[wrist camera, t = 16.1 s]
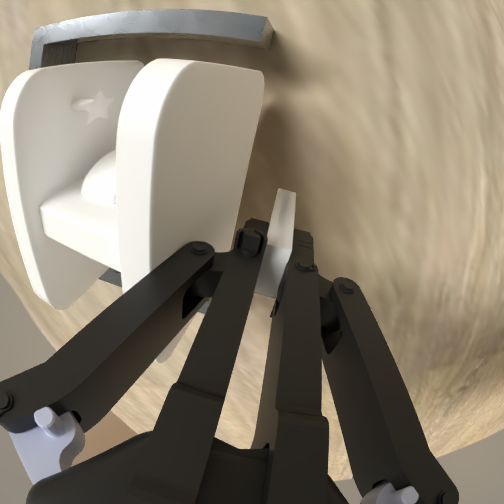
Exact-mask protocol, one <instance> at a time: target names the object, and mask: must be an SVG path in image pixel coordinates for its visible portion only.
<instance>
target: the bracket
mask: <svg viewBox="0 0 504 504" xmlns="http://www.w3.org/2000/svg"><path fill="white" fill-rule="evenodd" d="M273 31H274V29H273V27H272V25H271V23H270V22H269V20H268V18H267V17H263V16H257V15H250V14H242V13H234V12H224V11H212V10H194V9H155V10H137V11H125V12H116V13H108V14H101V15H94V16H88V17H83V18H77V19H72V20H68V21H63V22H59V23H55V24H51V25H47V26H44V27H40V28H37V29H34V35H33V41H32V48H31V56H30V66H29V70H33V69H38V68H44V67H50V66H58V65H65V64H74V63H75V56H76V49H77V43H79V42H87V41H96V40H107V39H122V38H179V39H195V40H206V41H216V42H224V43H232V44H239V45H245V46H251V47H257V48H262V49H268V50H269V47H270V43H271V39H272V35H273ZM98 279H100V280H103V281H106V282H109V283H111V284H114V285H117V286H120V287H122V279H121V272H119V271H117V270H115V269H113V268H109V269H108V270H107V271H106V272H105V273H104V274H102V275H101V276H100V277H99V278H98ZM211 299H212V298H208V299H207V301H206V303H205V304H204V305H203V306H202V307H201V308H200V309H199V310H198V312H200V313H204V314H206V311H207V309H208V307H209V304H210V302H211Z"/></svg>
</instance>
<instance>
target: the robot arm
mask: <svg viewBox="0 0 504 504" xmlns="http://www.w3.org/2000/svg"><path fill="white" fill-rule="evenodd" d="M295 204H296V193H295V192H291V191H287V190H284V189H280V188H278V192H277V195H276V199H275V203H274V207H273V211H272V214H271V218H270V222H269V223H268V222H265V221H261V220H257V219H253V218H251V219H249V220H248V221H246V223H245V226H244V228H242V229H239V230H238V231H237V234H236V239H235V244H234V248H233V250H232V251H229V252H215V249H214V248H213V246H212V245H210V244H209V243H206V242H203V241H192V242H189V243H187V244H185V245H184V246H183V247H182V248H180V249H179V250H178V251H176V252H175V253H174V254H173V255H171V256H170V257H169V258H167V259H166V260H165V261H164V262H162V263H161V264H160V265H159V266H157V267H156V268H155V269H154V270H152V271H151V272H150V273H149V274H147V275H146V276H145V277H144V278H142V279H141V280H140V281H139V282H138V283H136V284H135V285H134V286H133V287H131V288H130V289H129V290H128V291H127V292H125V293H124V294H123V295H122V296H121V297H119V298H118V299H117V300H116V301H115V302H113V303H112V304H111V305H110V306H109V307H107V308H106V309H105V310H104V311H103V312H102V313H100V314H99V315H98V316H97V317H96V318H94V319H93V320H92V321H91V322H90V323H89V324H88V325H86V326H85V327H84V328H83V329H82V330H81V331H80V332H78V333H77V334H76V335H75V336H74V337H73V338H72V339H70V340H69V341H68V342H67V343H66V344H65V345H64V346H63V347H61V348H60V349H59V350H58V351H57V352H56V353H55V354H54V355H53V356H52V357H51V358H49V359H48V360H47V361H46V362H45V363H42V364H40V365H38V366H36V367H33V368H31V369H29V370H26V371H24V372H22V373H20V374H17V375H15V376H13V377H11V378H9V379H6V380H4V381H1V382H0V425H1V426H3V427H4V428H5V429H6V430H7V431H8V432H9V434H10V436H11V438H12V441H13V443H14V446H15V448H16V450H17V453H18V455H19V457H20V459H21V461H22V464H23V466H24V468H25V470H26V471H27V474H28V475H29V477H30V479H31V481H32V483H33V487H32V488H31V490H30V491H29V493H28V496H27V500H26V504H349V503H348V502H347V500H346V499H345V497H344V496H343V495H342V493H341V492H340V490H339V489H338V487H337V486H336V485H335V483H334V482H333V480H332V479H331V477H330V476H329V475H328V453H329V422H328V420H327V418H326V417H324V416H322V412H321V400H322V361H323V364H324V368H325V371H326V375H327V378H328V382H329V386H330V389H331V393H332V396H333V400H334V404H335V408H336V411H337V415H338V419H339V423H340V426H341V430H342V434H343V438H344V442H345V446H346V450H347V454H348V458H349V462H350V466H351V470H352V474H353V477H354V480H355V483H356V485H357V488H358V490H359V492H360V494H361V496H362V497H363V499H362V500H361V503H360V504H458V501H459V492H458V490H457V488H456V486H455V485H454V483H453V482H452V481H451V479H450V478H449V477H448V475H447V474H446V472H445V471H444V469H443V468H442V467H441V465H440V464H439V463H438V461H437V460H436V458H435V457H434V456H433V454H432V453H431V451H430V450H429V447H428V444H427V441H426V438H425V435H424V433H423V430H422V427H421V424H420V422H419V419H418V416H417V414H416V411H415V409H414V406H413V403H412V401H411V398H410V396H409V393H408V391H407V389H406V386H405V384H404V381H403V379H402V377H401V374H400V372H399V370H398V367H397V365H396V363H395V360H394V358H393V356H392V354H391V351H390V349H389V347H388V345H387V343H386V340H385V338H384V336H383V334H382V332H381V330H380V328H379V325H378V323H377V321H376V319H375V317H374V315H373V313H372V311H371V309H370V307H369V305H368V303H367V301H366V299H365V297H364V295H363V293H362V291H361V289H360V287H359V286H358V285H357V284H356V283H355V282H354V281H352V280H350V279H348V278H343V277H339V278H336V279H334V281H333V282H331V281H329V280H327V279H325V278H323V277H322V276H320V275H319V274H318V269H317V266H316V265H315V264H314V251H313V238H312V236H311V235H310V233H308V232H305V231H301V230H297V229H294V217H295ZM277 292H278V293H277ZM254 293H257V294H261V295H265V296H269V297H273V298H276V295H277V298H276V301H275V304H274V307H273V309H272V312H271V315H270V317H272V323H271V331H270V338H269V345H268V352H267V359H266V366H265V373H264V379H263V386H262V393H261V399H260V405H259V412H258V418H257V424H256V430H255V436H254V440H253V443H252V445H251V448H250V449H238V448H236V447H234V446H231V445H229V444H227V443H225V442H223V441H221V440H219V439H217V438H215V437H214V436H215V432H216V429H217V425H218V421H219V418H220V414H221V411H222V407H223V404H224V400H225V396H226V392H227V389H228V385H229V382H230V378H231V374H232V371H233V367H234V364H235V360H236V356H237V353H238V349H239V345H240V342H241V338H242V334H243V331H244V327H245V323H246V320H247V316H248V312H249V309H250V305H251V301H252V297H253V294H254ZM208 298H212V299H211V302H210V304H209V307H208V309H207V311H206V314H205V316H204V318H203V321H202V323H201V326H200V328H199V330H198V333H197V335H196V337H195V340H194V342H193V345H192V347H191V349H190V352H189V354H188V357H187V359H186V362H185V364H184V366H183V369H182V371H181V374H180V376H179V378H178V381H177V382H176V383H174V384H173V385H172V386H171V388H170V390H169V393H168V395H167V397H166V400H165V402H164V405H163V407H162V409H161V412H160V414H159V417H158V419H157V422H156V424H155V427H154V429H153V431H149V432H144V433H141V434H139V435H136V436H134V437H132V438H130V439H129V440H126V441H124V442H123V443H121V444H119V445H117V446H115V447H113V448H111V449H109V450H107V451H105V452H103V453H101V454H99V455H97V456H94V457H92V458H90V459H88V460H86V461H84V462H82V463H79V464H77V465H75V466H73V467H71V465H72V461H73V460H74V458H75V457H76V456H77V455H78V454H79V453H80V452H81V451H82V450H83V448H84V446H85V435H84V433H85V432H87V431H88V430H89V429H91V428H92V427H93V426H94V425H96V424H97V423H98V422H99V421H100V420H101V419H102V418H103V417H104V416H105V415H106V414H107V413H108V412H109V411H110V410H111V409H112V407H113V406H114V405H115V404H116V403H117V402H118V401H119V400H120V398H121V397H122V396H123V395H124V394H125V393H126V392H127V390H128V389H129V388H130V387H131V386H132V385H133V384H134V383H135V381H136V380H137V379H138V378H139V377H140V376H141V375H142V374H143V372H144V371H145V370H146V369H147V368H148V367H149V366H150V365H151V363H152V362H153V361H154V360H155V359H156V358H157V357H158V355H159V354H160V353H161V352H162V351H163V350H164V349H165V348H166V346H167V345H168V344H169V343H170V342H171V341H172V340H173V339H174V337H175V336H176V335H177V334H178V333H179V332H180V331H181V330H182V328H183V327H184V326H185V325H186V324H187V323H188V322H189V321H190V319H191V318H192V317H193V316H194V315H195V314H196V313H197V312H198V310H199V309H200V308H201V307H202V306H203V305H204V304H205V303H206V301H207V299H208ZM321 357H322V360H321Z"/></svg>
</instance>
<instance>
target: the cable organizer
mask: <svg viewBox="0 0 504 504" xmlns="http://www.w3.org/2000/svg"><path fill="white" fill-rule="evenodd" d="M263 96H264V76H263V73H262V72H261V71H257V70H252V69H247V68H242V67H236V66H230V65H224V64H217V63H210V62H202V61H192V60H181V59H166V58H161V59H156V60H154V61H151V62H150V63H148V64H147V65H146V66H145V65H144V64H143V63H142V62H140V61H98V62H85V63H74V64H65V65H58V66H50V67H44V68H38V69H33V70H28V71H25V72H23V73H22V74H20V75H19V76H18V77H17V78H16V79H15V80H14V81H13V82H12V83H11V85H10V87H9V88H8V90H7V92H6V94H5V97H4V99H3V102H2V106H1V111H0V142H1V154H2V163H3V171H4V178H5V184H6V190H7V196H8V201H9V207H10V211H11V216H12V220H13V225H14V229H15V233H16V237H17V240H18V244H19V248H20V251H21V254H22V258H23V261H24V264H25V267H26V270H27V273H28V276H29V279H30V282H31V285H32V288H33V290H34V291H35V293H36V294H37V295H38V297H40V298H41V299H42V300H44V301H45V302H47V303H48V304H49V305H51V306H52V307H54V308H56V309H58V310H65V309H67V308H69V307H70V306H71V305H73V303H74V302H75V301H76V300H77V299H78V298H79V297H80V296H81V295H82V294H83V293H84V292H85V291H86V290H87V289H88V288H89V287H90V286H91V285H92V284H93V283H94V282H95V281H96V280H97V279H98V278H99V277H100V276H101V275H102V274H104V273H105V272H106V271H107V270H108V269H109V268H113V269H115V270H117V271H119V272H121V279H122V287H123V294H124V293H125V292H127V291H128V290H129V289H130V288H131V287H133V286H134V285H135V284H136V283H138V282H139V281H140V280H141V279H142V278H144V277H145V276H146V275H147V274H149V273H150V272H151V271H152V270H154V269H155V268H156V267H157V266H159V265H160V264H161V263H162V262H164V261H165V260H166V259H167V258H169V257H170V256H171V255H173V254H174V253H175V252H176V251H178V250H179V249H180V248H182V247H183V246H184V245H185V244H187V243H189V242H192V241H203V242H206V243H209V244H210V245H212V246H213V248H214V249H215V252H229V251H230V249H231V245H232V241H233V236H234V231H235V226H236V221H237V217H238V212H239V207H240V202H241V198H242V193H243V188H244V184H245V179H246V174H247V170H248V165H249V161H250V156H251V152H252V147H253V143H254V138H255V134H256V130H257V125H258V121H259V117H260V112H261V108H262V103H263ZM195 315H196V314H195ZM195 315H194V316H195ZM194 316H193V317H192V318H191V319H190V321H189V322H188V323H187V324H186V325H185V326H184V327H183V328H182V330H181V331H180V332H179V333H178V334H177V335H176V336H175V337H174V339H173V340H172V341H171V342H170V343H169V344H168V345H167V346H166V348H165V349H164V350H163V351H162V352H161V353H160V354H159V355H158V357H157V358H156V359H155V360H154V361H156V362H158V363H163V362H164V361H166V360H167V359H168V358H169V357H170V355H171V354H172V352H173V351H174V349H175V348H176V346H177V344H178V343H179V341H180V339H181V338H182V336H183V334H184V333H185V331H186V329H187V328H188V326H189V325H190V323H191V321H192V320H193V318H194Z"/></svg>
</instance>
